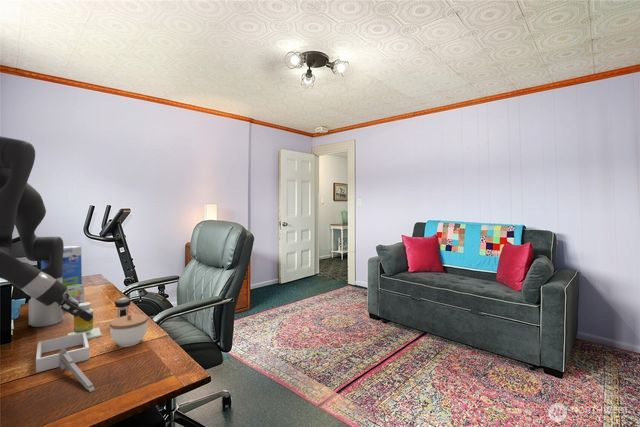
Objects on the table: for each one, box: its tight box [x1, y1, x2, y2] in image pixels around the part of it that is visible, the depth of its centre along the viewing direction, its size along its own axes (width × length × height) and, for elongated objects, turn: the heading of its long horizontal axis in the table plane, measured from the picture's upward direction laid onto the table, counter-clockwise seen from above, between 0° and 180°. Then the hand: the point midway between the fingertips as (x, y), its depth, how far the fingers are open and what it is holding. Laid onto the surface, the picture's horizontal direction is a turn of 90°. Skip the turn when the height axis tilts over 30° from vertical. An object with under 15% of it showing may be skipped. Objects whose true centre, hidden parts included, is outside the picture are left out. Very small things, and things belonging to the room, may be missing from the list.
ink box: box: [62, 276, 86, 303], centre depth 137 cm, size 7×4×13 cm, turn 161°
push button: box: [114, 297, 132, 318], centre depth 118 cm, size 7×5×10 cm
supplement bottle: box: [73, 301, 94, 334], centre depth 108 cm, size 5×5×10 cm
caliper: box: [58, 347, 96, 393], centre depth 82 cm, size 20×1×6 cm, turn 57°
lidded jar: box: [109, 313, 149, 348], centre depth 103 cm, size 11×11×9 cm
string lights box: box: [40, 245, 83, 284], centre depth 145 cm, size 13×8×26 cm, turn 153°
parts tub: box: [35, 332, 90, 373], centre depth 94 cm, size 12×15×4 cm
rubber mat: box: [66, 326, 102, 340], centre depth 108 cm, size 9×9×1 cm
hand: (90, 316), depth 109 cm, fingers closed on supplement bottle, 5 cm apart
